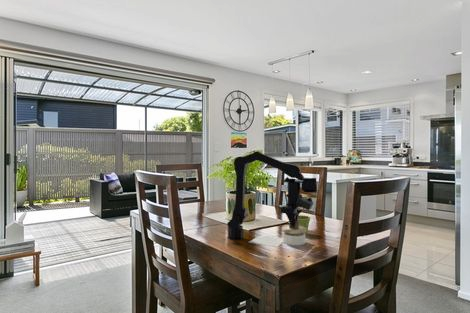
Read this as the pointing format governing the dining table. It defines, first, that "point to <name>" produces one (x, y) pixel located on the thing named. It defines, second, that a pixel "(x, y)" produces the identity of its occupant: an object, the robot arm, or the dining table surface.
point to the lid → (294, 228)
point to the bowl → (294, 238)
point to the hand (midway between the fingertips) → (293, 226)
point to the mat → (267, 240)
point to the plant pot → (304, 221)
